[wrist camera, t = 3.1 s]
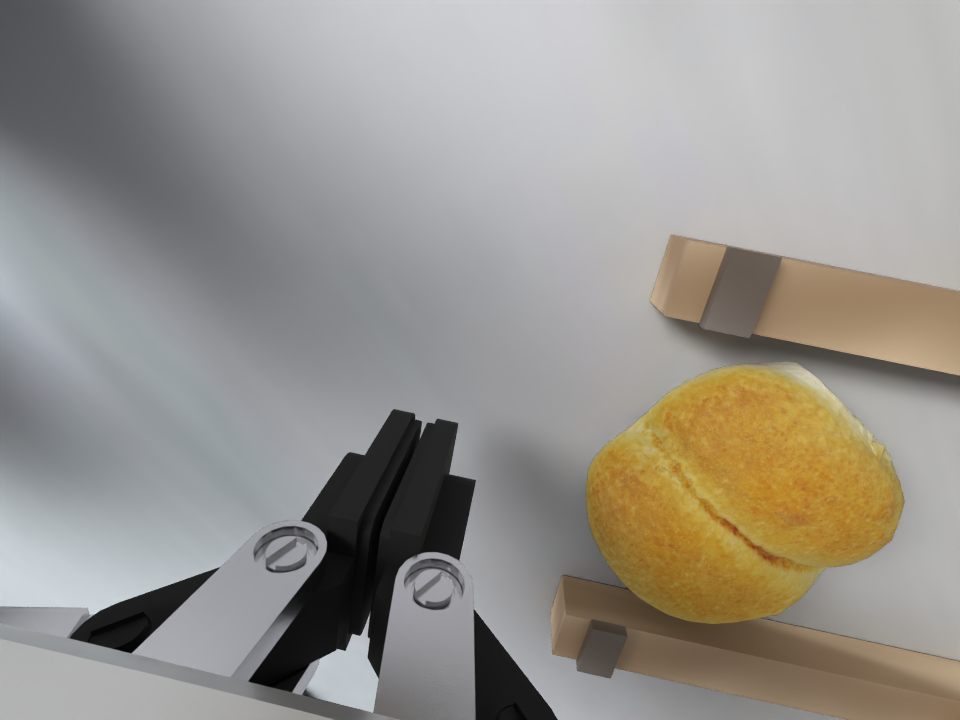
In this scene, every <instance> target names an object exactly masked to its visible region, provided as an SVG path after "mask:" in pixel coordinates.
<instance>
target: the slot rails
mask: <svg viewBox="0 0 960 720" xmlns="http://www.w3.org/2000/svg"><path fill="white" fill-rule="evenodd" d="M650 302H651V303H652V304H653V305H654V306H655V307H656V308H657V309H659V310H660V311H661V312H662V313H663V314H664V315H665V316H666V317H671V318H676V319H681V320H686V321H691V322H696V323H699V326H700V327H702V328H703V329H706V330H711V331H716V332H721V333H726V334H731V335H736V336H741V337H745V338H750V336H751V334H756V335H761V336H766V337H771V338H776V339H781V340H786V341H791V342H796V343H801V344H806V345H811V346H816V347H820V348H825V349H830V350H835V351H840V352H845V353H850V354H855V355H860V356H865V357H870V358H875V359H880V360H885V361H890V362H895V363H900V364H905V365H910V366H915V367H920V368H925V369H930V370H935V371H940V372H945V373H950V374H955V375H960V291H957V290H951V289H946V288H941V287H936V286H931V285H926V284H921V283H916V282H911V281H906V280H900V279H895V278H890V277H885V276H880V275H875V274H870V273H865V272H860V271H855V270H850V269H844V268H839V267H834V266H829V265H824V264H819V263H814V262H809V261H804V260H799V259H793V258H788V257H783V256H778V255H773V254H768V253H763V252H758V251H753V250H748V249H742V248H737V247H732V246H727V245H722V244H717V243H712V242H707V241H702V240H697V239H691V238H686V237H681V236H676V235H671V236H670V239H669V242H668V245H667V249H666V252H665V255H664V258H663V261H662V264H661V267H660V270H659V274H658V277H657V280H656V283H655V286H654V289H653V292H652V296H651V299H650ZM550 615H551V635H552V654H554V655H558V656H563V657H567V658H572V659H576V662H577V671H579V672H584V673H588V674H593V675H597V676H602V677H606V678H611V676H612V674H613V671H614V669H615V668H617V669H621V670H626V671H630V672H635V673H639V674H644V675H648V676H653V677H657V678H662V679H666V680H671V681H675V682H680V683H684V684H689V685H693V686H698V687H702V688H707V689H711V690H716V691H720V692H724V693H729V694H733V695H738V696H742V697H747V698H751V699H756V700H760V701H765V702H769V703H774V704H778V705H783V706H787V707H792V708H796V709H801V710H805V711H810V712H814V713H819V714H823V715H828V716H832V717H837V718H841V719H846V720H960V662H959V661H955V660H950V659H946V658H941V657H936V656H932V655H927V654H923V653H918V652H913V651H909V650H904V649H900V648H895V647H891V646H886V645H881V644H877V643H872V642H868V641H863V640H858V639H854V638H849V637H845V636H840V635H835V634H831V633H826V632H822V631H817V630H812V629H808V628H803V627H799V626H794V625H789V624H785V623H780V622H776V621H771V620H767V619H762V618H758V619H751V620H744V621H740V622H733V623H720V624H709V623H698V622H691V621H686V620H683V619H680V618H677V617H673V616H670V615H668V614H666V613H664V612H662V611H660V610H658V609H657V608H655V607H653V606H651V605H650V604H648V603H646V602H645V601H643V600H642V599H640V598H639V597H638V596H636V595H635V594H634V593H633V592H632V591H631V590H629V589H624V588H620V587H615V586H610V585H606V584H601V583H597V582H592V581H587V580H583V579H578V578H574V577H569V576H564V575H562V578H561V581H560V584H559V587H558V590H557V593H556V597H555V600H554V603H553V606H552V609H551V612H550Z"/></svg>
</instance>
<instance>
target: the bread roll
mask: <svg viewBox="0 0 960 720" xmlns="http://www.w3.org/2000/svg"><path fill="white" fill-rule="evenodd" d="M586 503H587V512H588V520H589V524H590V528H591V532H592V535H593V538H594V539H595V541H596V543H597V545H598V547H599V549H600V551H601V553H602V555H603V557H604V558H605V560H606V562H607V563H608V565H609V566H610V568H611V569H612V570H613V572H614V573H615V574H616V576H617V577H618V578H619V579H620V580H621V581H622V583H623V584H624V585H625V586H627V587H628V588H629V589H630V590H631V591H632V592H633V593H634V594H635V595H636V596H638V597H639V598H640V599H642V600H643V601H645V602H646V603H648V604H650V605H651V606H653V607H655V608H657V609H658V610H660V611H662V612H664V613H666V614H668V615H670V616H673V617H677V618H680V619H683V620H686V621H691V622H698V623H709V624H720V623H733V622H740V621H744V620H751V619H758V618H763V617H767V616H771V615H777V614H780V613H782V612H783V611H784V610H785V609H787V608H788V607H790V606H791V605H793V604H794V603H795V602H797V601H798V600H799V599H801V598H802V597H803V595H804V594H805V593H806V592H807V591H808V590H809V589H810V588H811V586H812V585H813V584H814V582H815V581H816V579H817V578H818V576H819V575H820V574H821V572H822V571H823V570H825V569H826V568H827V567H839V566H845V565H850V564H854V563H856V562H859V561H861V560H863V559H866V558H868V557H870V556H871V555H873V554H874V553H876V552H877V551H878V550H880V549H881V548H882V547H884V546H885V545H886V544H887V543H889V542H890V541H891V540H892V538H893V535H894V533H895V530H896V528H897V525H898V523H899V519H900V516H901V512H902V509H903V505H904V497H903V492H902V490H901V485H900V481H899V479H898V477H897V475H896V472H895V470H894V467H893V465H892V461H891V457H890V455H889V453H888V451H887V449H886V448H885V446H884V445H883V444H881V443H880V442H878V441H877V440H876V439H875V438H874V437H873V436H872V435H871V434H870V432H869V431H868V430H867V429H866V428H865V427H864V425H863V424H862V423H861V421H860V420H859V419H857V418H856V417H855V416H854V415H852V414H851V413H850V411H849V410H848V409H847V408H846V407H845V406H844V405H843V404H842V402H841V401H840V400H839V399H838V398H837V397H836V396H835V395H834V394H832V392H831V391H830V390H829V389H827V388H826V387H825V386H824V385H823V383H822V382H821V381H820V380H819V379H818V378H817V377H815V376H814V375H813V374H812V373H810V372H809V371H808V370H806V369H805V368H804V367H802V366H801V365H799V364H798V363H794V362H789V361H783V362H770V363H759V364H739V365H730V366H725V367H720V368H716V369H713V370H711V371H708V372H705V373H703V374H700V375H698V376H696V377H694V378H692V379H690V380H688V381H686V382H685V383H683V384H682V385H680V386H678V387H677V388H675V389H674V390H672V391H670V392H669V393H667V394H666V395H665V396H664V397H663V398H662V399H660V400H659V401H658V402H657V403H656V404H655V405H654V406H653V407H652V409H650V410H649V411H648V412H647V413H646V414H645V415H644V416H643V417H641V418H640V419H639V420H637V421H636V422H635V423H634V424H633V425H632V426H631V427H629V428H628V429H626V430H625V431H624V432H622V433H621V434H619V435H618V436H616V437H615V438H614V439H612V440H611V441H610V442H608V443H607V444H606V445H605V446H604V447H603V448H602V449H601V450H600V451H599V453H598V454H597V455H596V456H595V458H594V459H593V461H592V463H591V465H590V467H589V470H588V477H587V489H586Z"/></svg>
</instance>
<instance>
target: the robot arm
mask: <svg viewBox="0 0 960 720" xmlns="http://www.w3.org/2000/svg"><path fill="white" fill-rule="evenodd" d="M421 426H422V421H419V420H415V414H414V413H409V412H405V411H400V410H395V409H393V411H392V412H391V414H390V415H389V417H388V418H387V420H386V422H385V423H384V425H383V427H382V428H381V430H380V432H379V433H378V435H377V436H376V438H375V440H374V441H373V443H372V445H371V446H370V448H369V449H368V451H367V453H366V454H365V455H360V454H356V453H351V452H350V453H348V454H347V455H346V456H345V457H344V459H343V460H342V462H341V463H340V465H339V466H338V467H337V469H336V470H335V472H334V473H333V475H332V476H331V478H330V479H329V481H328V482H327V484H326V485H325V487H324V488H323V490H322V491H321V493H320V494H319V495H318V497H317V498H316V500H315V501H314V503H313V504H312V506H311V507H310V509H309V510H308V512H307V513H306V515H305V516H304V518H303V519H302V521H299V520H298V521H282V522H278V523H274V524H271V525H269V526H267V527H265V528H263V529H261V530H260V531H259V532H257V533H256V534H255V535H253V536H252V537H251V538H250V539H249V540H248V541H247V542H246V543H245V544H244V545H243V546H242V547H241V548H240V549H239V550H238V551H237V552H236V553H235V554H234V555H233V556H232V557H231V558H230V559H229V560H228V561H226V562H225V563H224V564H223V565H222V566H221V567H219V568H216V569H214V570H211V571H208V572H205V573H202V574H199V575H196V576H194V577H191V578H188V579H185V580H182V581H179V582H176V583H174V584H171V585H168V586H165V587H162V588H159V589H157V590H154V591H151V592H148V593H145V594H142V595H139V596H137V597H134V598H131V599H128V600H125V601H122V602H119V603H117V604H114V605H112V606H110V607H108V608H106V609H103V610H101V611H99V612H98V613H96V614H95V615H89V611H88V608H63V607H0V720H558V719H557V718H556V716H555V714H554V713H553V711H552V709H551V708H550V707H549V705H548V704H547V703H546V701H545V700H544V699H543V698H542V696H541V695H540V694H539V692H538V691H537V690H536V689H535V687H534V686H533V685H532V683H531V682H530V681H529V680H528V678H527V677H526V676H525V674H524V673H523V672H522V670H521V669H520V668H519V667H518V665H517V664H516V663H515V661H514V660H513V659H512V658H511V656H510V655H509V654H508V652H507V651H506V650H505V649H504V647H503V646H502V645H501V643H500V642H499V641H498V640H497V638H496V637H495V636H494V634H493V633H492V632H491V630H490V629H489V628H488V627H487V625H486V624H485V623H484V621H483V620H482V619H481V618H480V616H479V615H478V614H477V612H476V611H475V610H474V600H473V583H472V578H471V575H470V574H469V572H468V570H467V569H466V567H465V566H464V565H463V564H462V563H460V562H459V559H460V554H461V550H462V545H463V540H464V535H465V530H466V526H467V521H468V516H469V511H470V506H471V502H472V497H473V492H474V487H475V483H476V480H472V479H468V478H463V477H459V476H454V475H450V474H449V472H450V467H451V461H452V456H453V450H454V445H455V439H456V434H457V428H458V423H455V422H450V421H446V420H441V419H437V420H436V422H435V424H433V423H427V425H426V427H425V429H424V431H423V434H422V436H421V438H420V433H421ZM370 611H371V612H370ZM369 614H370V621H369V629H368V638H370V643H369V651H368V659H369V661H370V663H371V665H372V667H373V669H374V671H375V673H376V674H377V676H378V678H379V681H378V687H377V693H376V699H375V705H374V712H373V713H372V712H368V711H364V710H360V709H356V708H352V707H348V706H344V705H340V704H336V703H332V702H328V701H324V700H320V699H315V698H311V697H307V696H303V695H302V694H303V692H304V690H305V689H306V687H307V686H308V684H309V682H310V681H311V679H312V677H313V676H314V674H315V672H316V670H317V667H318V665H319V659H320V658H322V657H324V656H326V655H328V654H330V653H332V652H333V651H335V650H336V649H340V650H344V651H346V648H347V646H348V643H349V641H350V638H351V636H352V634H355V635H359V636H360V635H361V634H362V632H363V629H364V627H365V624H366V622H367V619H368V616H369Z"/></svg>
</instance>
